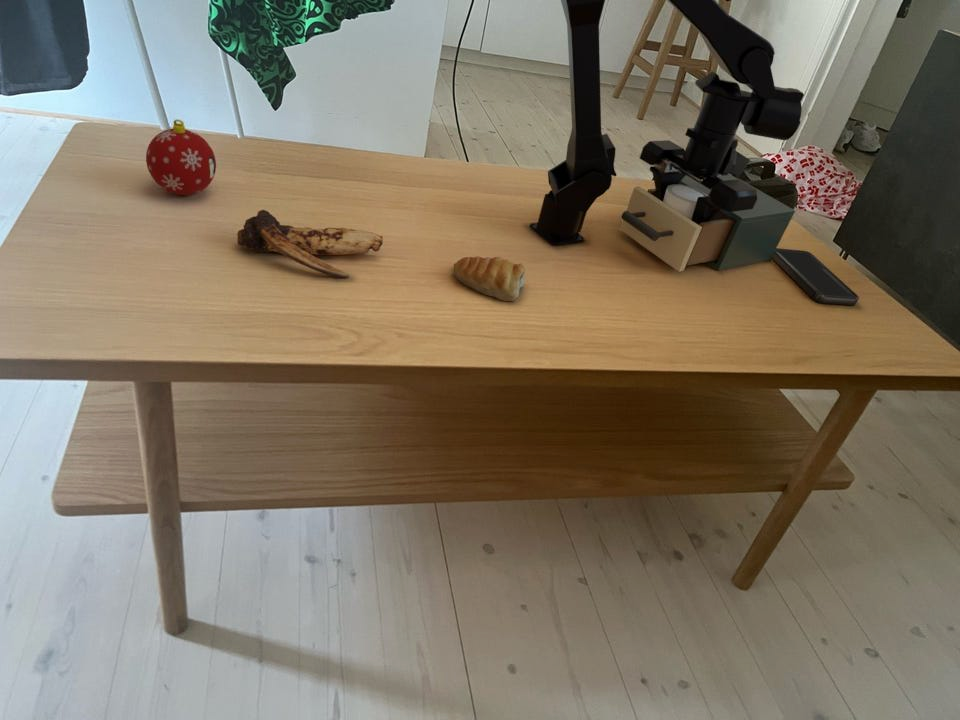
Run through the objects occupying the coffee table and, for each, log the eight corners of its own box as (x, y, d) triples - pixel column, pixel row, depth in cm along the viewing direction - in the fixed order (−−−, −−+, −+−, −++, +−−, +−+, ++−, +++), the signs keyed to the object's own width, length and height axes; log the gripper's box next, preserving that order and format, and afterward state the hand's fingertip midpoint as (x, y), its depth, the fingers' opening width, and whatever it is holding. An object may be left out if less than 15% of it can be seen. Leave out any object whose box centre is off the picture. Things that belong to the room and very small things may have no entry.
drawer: (657, 276, 99) (675, 231, 95) (598, 232, 107) (613, 189, 103) (731, 261, 108) (750, 219, 103) (672, 221, 116) (687, 181, 112)
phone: (820, 296, 103) (770, 247, 114) (816, 302, 104) (767, 253, 115) (862, 299, 105) (809, 251, 116) (859, 305, 106) (806, 256, 117)
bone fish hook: (233, 276, 81) (385, 282, 85) (231, 242, 78) (388, 250, 82) (239, 235, 88) (379, 243, 92) (237, 202, 85) (382, 212, 89)
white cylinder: (695, 249, 104) (713, 207, 100) (651, 238, 104) (667, 195, 100) (692, 231, 109) (709, 190, 105) (651, 220, 109) (666, 179, 105)
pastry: (446, 286, 87) (451, 260, 85) (458, 263, 93) (463, 238, 90) (516, 305, 87) (523, 280, 84) (524, 281, 92) (531, 256, 90)
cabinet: (718, 271, 106) (742, 218, 101) (653, 227, 115) (673, 176, 110) (770, 260, 113) (795, 210, 108) (706, 219, 122) (726, 171, 117)
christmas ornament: (172, 173, 97) (166, 102, 91) (228, 188, 97) (226, 119, 91) (135, 195, 90) (126, 121, 84) (196, 212, 90) (192, 138, 84)
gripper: (802, 151, 95) (754, 249, 104) (704, 103, 106) (669, 195, 116) (753, 155, 89) (707, 258, 98) (655, 103, 100) (622, 200, 110)
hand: (675, 226), depth 106 cm, fingers closed on white cylinder, 6 cm apart
